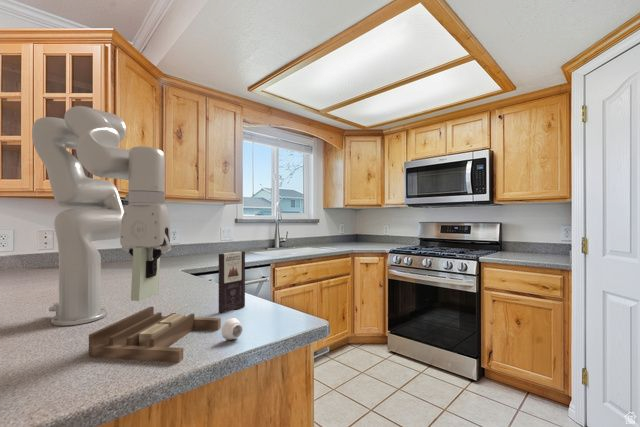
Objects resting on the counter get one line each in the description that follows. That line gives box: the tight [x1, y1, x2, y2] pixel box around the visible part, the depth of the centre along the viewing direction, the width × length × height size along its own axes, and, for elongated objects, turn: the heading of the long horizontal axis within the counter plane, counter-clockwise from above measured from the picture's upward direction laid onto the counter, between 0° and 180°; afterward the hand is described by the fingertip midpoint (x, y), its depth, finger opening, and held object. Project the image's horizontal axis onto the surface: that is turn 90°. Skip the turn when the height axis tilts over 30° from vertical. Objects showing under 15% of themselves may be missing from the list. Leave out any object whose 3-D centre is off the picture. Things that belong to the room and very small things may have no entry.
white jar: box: [221, 317, 243, 341], centre depth 73 cm, size 5×3×5 cm, turn 142°
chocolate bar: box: [218, 250, 246, 314], centre depth 97 cm, size 9×1×18 cm, turn 140°
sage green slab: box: [130, 246, 162, 302], centre depth 73 cm, size 2×7×12 cm, turn 174°
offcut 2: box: [160, 313, 186, 327], centre depth 76 cm, size 3×6×4 cm, turn 174°
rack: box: [88, 306, 222, 363], centre depth 72 cm, size 20×20×5 cm
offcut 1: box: [139, 324, 169, 346], centre depth 69 cm, size 3×6×4 cm, turn 174°
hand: (146, 276), depth 73 cm, fingers closed
